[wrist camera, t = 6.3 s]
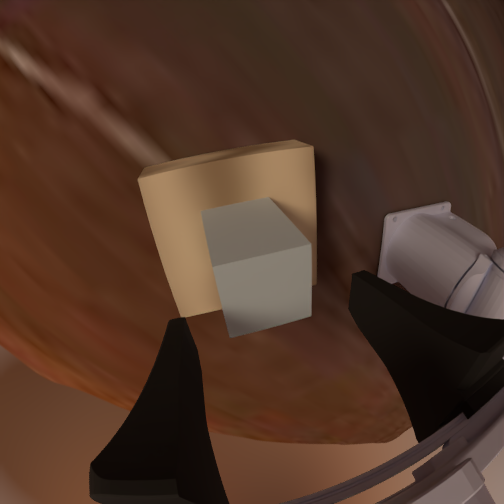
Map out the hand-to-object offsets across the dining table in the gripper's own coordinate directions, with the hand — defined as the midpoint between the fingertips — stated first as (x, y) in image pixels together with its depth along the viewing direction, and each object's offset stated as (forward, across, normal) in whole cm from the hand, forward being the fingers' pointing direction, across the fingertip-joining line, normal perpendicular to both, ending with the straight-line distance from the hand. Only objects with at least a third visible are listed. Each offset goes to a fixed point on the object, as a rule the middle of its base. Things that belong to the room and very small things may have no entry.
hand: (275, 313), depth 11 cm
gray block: (+7, 0, 0) cm, 7 cm away
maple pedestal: (+10, 0, 0) cm, 10 cm away
